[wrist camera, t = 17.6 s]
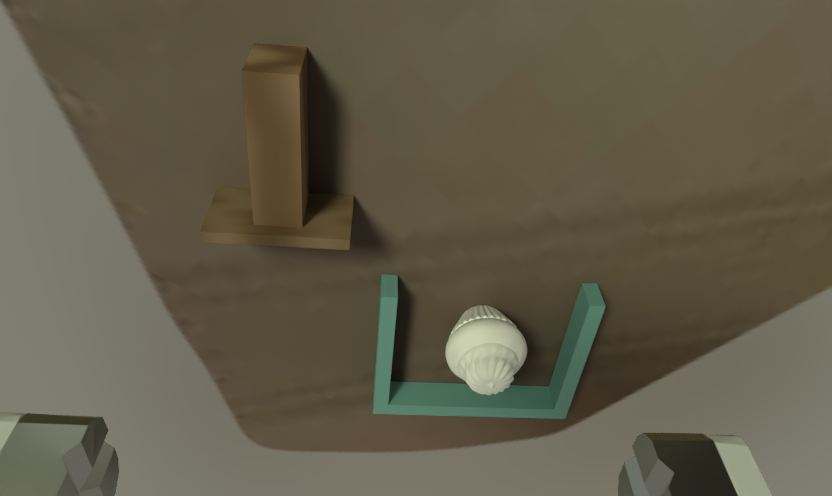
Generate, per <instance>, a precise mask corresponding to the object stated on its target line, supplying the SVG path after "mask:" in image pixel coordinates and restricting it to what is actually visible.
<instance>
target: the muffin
mask: <svg viewBox="0 0 832 496" xmlns="http://www.w3.org/2000/svg"><path fill="white" fill-rule="evenodd" d="M516 327H517V326H516V325H515V324H513V322H512V321H510V320H509V319H508V318H507V317H506V316H505V315H503V314H502V313H501V312H500V311H498V310H497V309H495V308H494V307H490V306H486V305H480V306H478V305H477V306H476V307H474V306H473V307H472V308H469V310H466V312H464V314H463V315H462V316H461V318H460V319H459V321H458V322H457V324H456V325H455V327H454V328H453V330H452V332H451V334H450V336H449V340H448V342H447V345H446V351H445V354H446V360H447V363H448V365H449V367H450V369H451V370H452V372H453V373H454V374H455V375H457V376H458V377H459V378H461V379H463V380H465V381H466V383H467V384H468V385H469V387H470V388H471V389H472V390H473V391H475V392H477V393H479V394H482V395H483V394H486V395H491V394H497V393H498V392H503V391H504V389H506V388H508V387H510V383H511V382H512V381H513V380H514V377H513V375H514V374H515V373H516V372H517V371H518V370H519V369H520V368H521V366H522V365H523V363H524V361H525V359H526V355H527V345H526V341H525V339H524V337H523V335H522V333H521V332H520V331H519V330H518V329H517V328H516Z"/></svg>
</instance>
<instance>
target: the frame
mask: <svg viewBox="0 0 832 496" xmlns="http://www.w3.org/2000/svg"><path fill="white" fill-rule="evenodd" d="M397 302H398V275H387V274H381V288H380V303H379V318H378V333H377V348H376V363H375V378H374V398H373V414H404V415H440V416H477V417H513V418H550V419H565V418H566V415H567V412H568V410H569V407H570V404H571V401H572V398H573V396H574V393H575V390H576V387H577V385H578V382H579V379H580V376H581V374H582V371H583V368H584V365H585V363H586V360H587V357H588V354H589V351H590V349H591V346H592V343H593V340H594V338H595V335H596V332H597V329H598V327H599V324H600V321H601V318H602V316H603V313H604V310H605V307H606V306H605V303H604V300H603V298H602V295H601V292H600V290H599V287H598V284H593V283H582V284H581V287H580V290H579V293H578V296H577V300H576V303H575V306H574V309H573V312H572V315H571V318H570V321H569V325H568V328H567V331H566V334H565V337H564V340H563V343H562V346H561V349H560V353H559V356H558V359H557V362H556V365H555V368H554V371H553V374H552V378H551V381H550V384H549V386H522V385H510V387H508V388H506V389H504V391H503V392H498V393H497V394H491V395H486V394H483V395H482V394H479V393H477V392H475V391H473V390H472V389H471V388H470V387H469V385H468V384H458V383H426V382H394V381H390V380H391V369H392V358H393V346H394V335H395V324H396V313H397Z"/></svg>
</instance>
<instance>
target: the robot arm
mask: <svg viewBox="0 0 832 496" xmlns="http://www.w3.org/2000/svg"><path fill="white" fill-rule="evenodd" d="M107 432H108V429H107V426H106V424H105V421H104V419H103V417H94V416H72V415H48V414H31V413H6V412H0V496H114V495H115V492H116V487H117V480H118V474H119V465H118V457H117V453H116V451H115V448H114V447H112V446H111V445H109V444H108V443H106V442H105V441H104V439H105V437H106V435H107ZM633 449H634V452H635V457H633V458H631V459H630V460H628V461H626V462H625V463H624V465H623V467H622V470H621V472H620V474H619V484H618V485H619V486H618V496H772V495H771V493H770V491H769V488H768V486H767V485H766V482H765V480H764V479H763V476H762V475H761V472H760V470H759V468H758V466H757V464H756V462H755V460H754V458H753V457H752V454H751V452H750V450H749V448H748V446H747V444H746V442H744V441H743V440H742V439H741V438H740V437H739V436H734V435H704V434H685V433H684V434H683V433H681V434H680V433H643V434H641V435H639V436H637V438H636V440H635V442H634V444H633Z"/></svg>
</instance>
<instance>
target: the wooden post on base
mask: <svg viewBox="0 0 832 496" xmlns="http://www.w3.org/2000/svg"><path fill="white" fill-rule="evenodd" d="M241 72H242V84H243V97H244V110H245V122H246V135H247V148H248V160H249V173H250V185H251V189H236V188H219V187H218V188H217V191H216V193H215V196H214V198H213V201H212V203H211V206H210V208H209V211H208V213H207V216H206V219H205V221H204V224H203V226H202V229H201V231H200V233H201V240H202V242H208V243H227V244H245V245H264V246H282V247H301V248H319V249H337V250H350V240H351V229H352V218H353V206H354V195H339V194H322V193H309V152H308V78H307V47H295V46H282V45H269V44H256V43H254V45H253V47H252V49H251V51H250V53H249V56H248V58H247V60H246V62H245V64H244V66H243V69H242V71H241Z"/></svg>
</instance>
